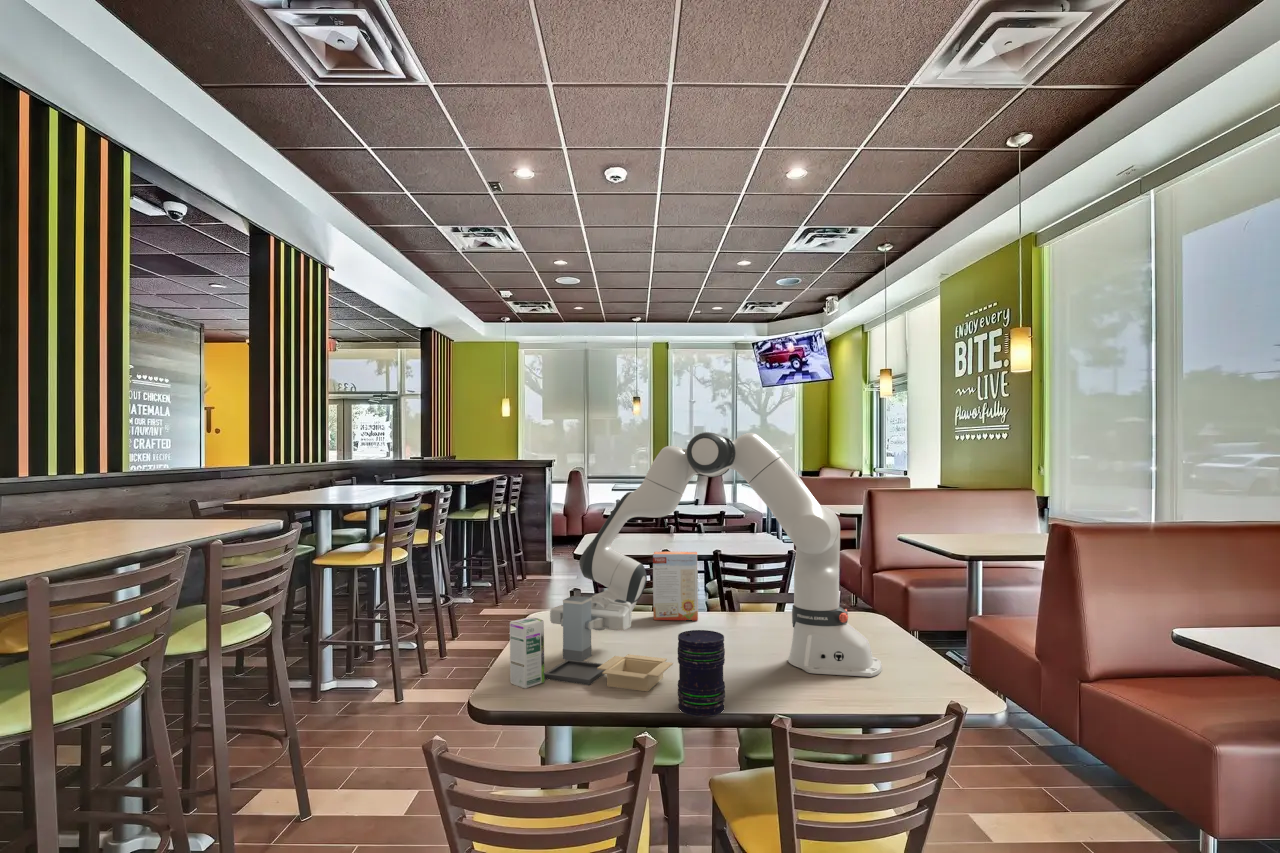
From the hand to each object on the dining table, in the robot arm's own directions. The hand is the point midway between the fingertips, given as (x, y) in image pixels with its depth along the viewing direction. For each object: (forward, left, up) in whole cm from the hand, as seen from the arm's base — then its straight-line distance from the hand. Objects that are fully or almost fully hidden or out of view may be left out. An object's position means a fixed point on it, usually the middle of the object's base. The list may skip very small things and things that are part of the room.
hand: (575, 624), depth 171 cm
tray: (0, -1, -12) cm, 12 cm away
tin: (0, -1, -8) cm, 8 cm away
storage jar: (-34, +9, -12) cm, 37 cm away
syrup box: (+8, +9, -12) cm, 17 cm away
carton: (-15, -1, -12) cm, 19 cm away
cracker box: (-4, -61, -12) cm, 62 cm away
